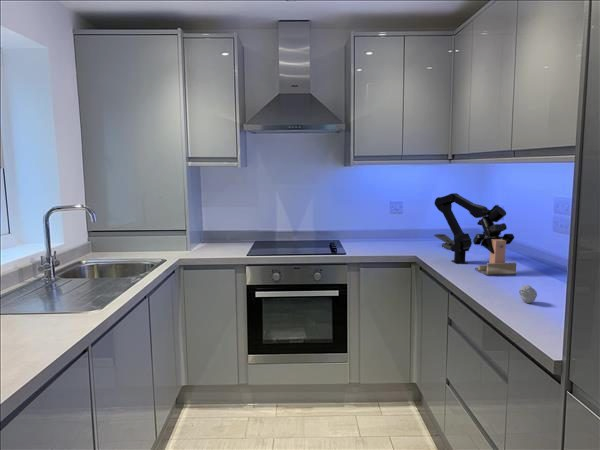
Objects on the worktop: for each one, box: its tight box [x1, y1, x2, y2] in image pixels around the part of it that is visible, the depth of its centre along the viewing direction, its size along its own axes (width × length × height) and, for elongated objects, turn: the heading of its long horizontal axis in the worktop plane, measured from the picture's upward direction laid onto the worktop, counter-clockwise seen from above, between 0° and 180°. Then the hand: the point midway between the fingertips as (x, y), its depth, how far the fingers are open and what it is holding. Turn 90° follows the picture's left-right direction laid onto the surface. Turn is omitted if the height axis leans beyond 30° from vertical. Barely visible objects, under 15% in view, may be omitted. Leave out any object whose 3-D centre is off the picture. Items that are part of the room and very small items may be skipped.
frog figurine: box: [518, 284, 538, 304], centre depth 174 cm, size 6×7×7 cm
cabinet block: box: [488, 239, 507, 263], centre depth 220 cm, size 6×5×13 cm
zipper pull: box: [433, 233, 455, 251], centre depth 294 cm, size 9×7×25 cm
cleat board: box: [474, 262, 517, 277], centre depth 223 cm, size 13×14×6 cm
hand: (499, 253), depth 219 cm, fingers closed on cabinet block, 5 cm apart
